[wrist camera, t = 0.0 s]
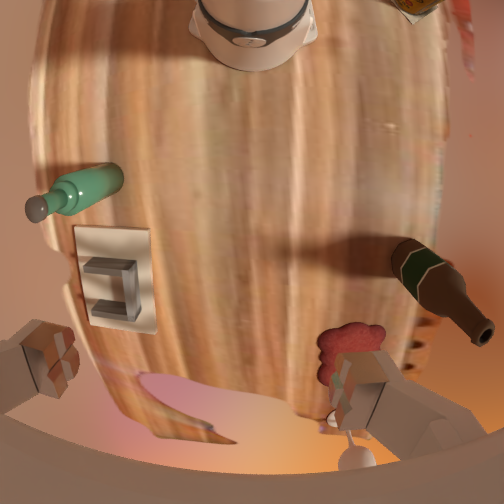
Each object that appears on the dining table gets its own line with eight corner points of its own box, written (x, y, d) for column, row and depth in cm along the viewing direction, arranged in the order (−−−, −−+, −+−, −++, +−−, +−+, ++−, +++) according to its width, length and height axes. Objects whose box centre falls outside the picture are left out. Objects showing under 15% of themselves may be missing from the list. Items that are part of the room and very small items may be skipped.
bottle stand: (77, 224, 47) (62, 234, 42) (150, 228, 47) (139, 239, 43) (92, 321, 54) (82, 336, 49) (157, 330, 55) (150, 347, 50)
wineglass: (363, 402, 63) (386, 473, 43) (358, 422, 66) (377, 489, 47) (327, 408, 63) (344, 483, 44) (325, 428, 66) (339, 497, 47)
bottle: (95, 162, 43) (15, 186, 25) (123, 162, 43) (49, 185, 25) (96, 194, 45) (20, 233, 27) (124, 194, 45) (54, 235, 27)
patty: (317, 325, 55) (319, 332, 53) (387, 315, 54) (390, 321, 52) (316, 388, 61) (317, 395, 59) (375, 378, 61) (378, 384, 59)
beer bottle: (384, 277, 51) (452, 366, 28) (394, 235, 48) (477, 309, 26) (420, 278, 51) (492, 358, 29) (430, 239, 48) (516, 306, 26)
